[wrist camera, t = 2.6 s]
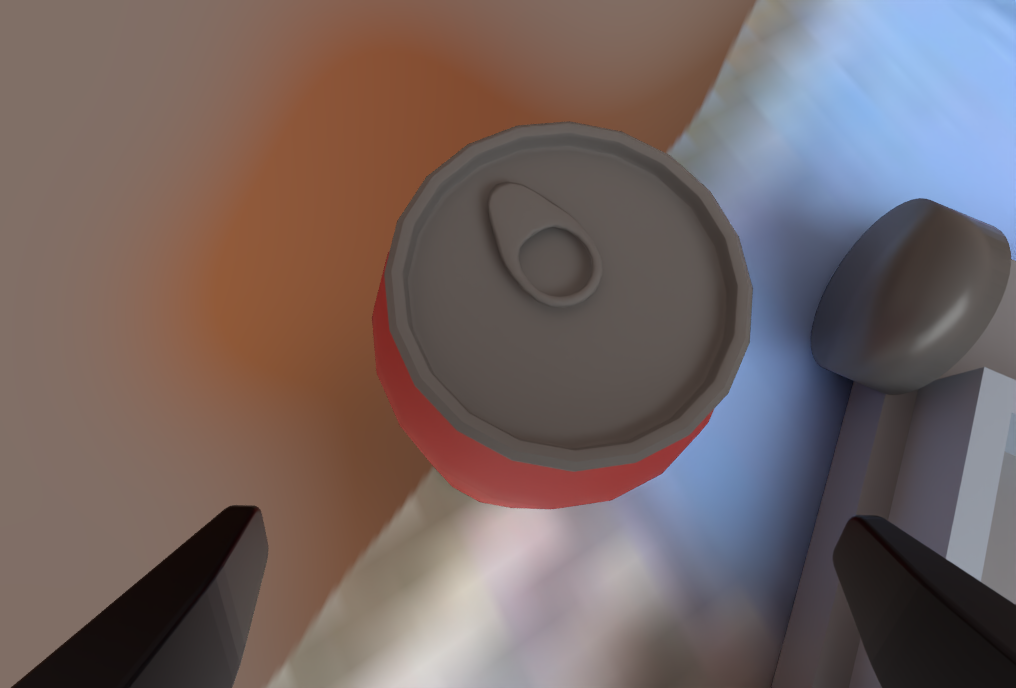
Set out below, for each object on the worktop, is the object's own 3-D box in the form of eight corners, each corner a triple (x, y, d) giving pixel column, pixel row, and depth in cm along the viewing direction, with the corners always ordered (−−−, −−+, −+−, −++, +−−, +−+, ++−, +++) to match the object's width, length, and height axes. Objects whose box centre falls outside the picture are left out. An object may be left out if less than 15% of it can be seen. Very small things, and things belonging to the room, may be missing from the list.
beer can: (532, 285, 21) (611, 27, 10) (643, 433, 20) (879, 336, 9) (378, 384, 20) (261, 219, 9) (487, 549, 19) (522, 617, 7)
